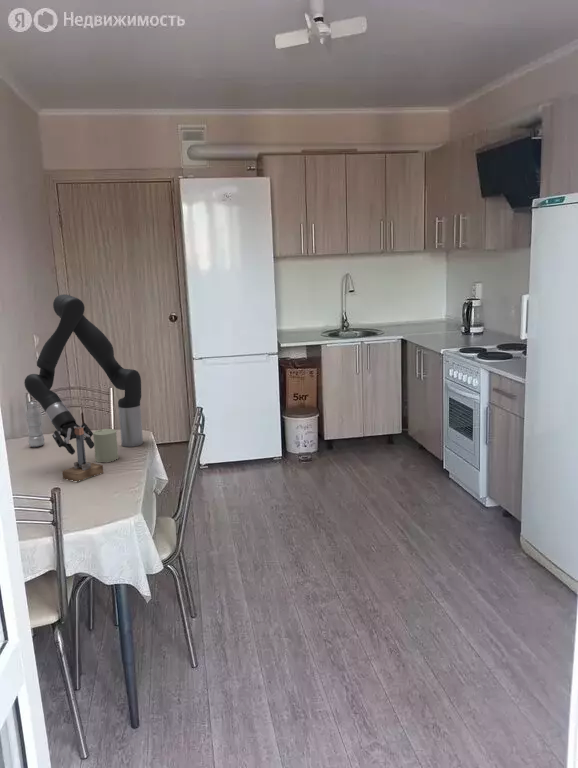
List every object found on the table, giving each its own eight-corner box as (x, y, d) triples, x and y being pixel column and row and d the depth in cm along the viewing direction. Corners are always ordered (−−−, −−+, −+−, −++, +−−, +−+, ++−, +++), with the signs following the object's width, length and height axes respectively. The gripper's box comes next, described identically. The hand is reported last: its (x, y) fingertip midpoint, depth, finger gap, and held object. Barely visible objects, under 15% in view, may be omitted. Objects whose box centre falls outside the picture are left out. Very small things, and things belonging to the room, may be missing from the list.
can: (107, 454, 259) (105, 426, 257) (123, 457, 254) (121, 429, 252) (90, 460, 251) (87, 432, 249) (106, 464, 247) (103, 434, 244)
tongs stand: (89, 469, 240) (88, 457, 239) (103, 472, 236) (102, 460, 235) (63, 478, 231) (61, 465, 230) (77, 482, 226) (75, 469, 225)
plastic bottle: (25, 448, 271) (20, 403, 268) (36, 443, 278) (31, 399, 274) (38, 449, 270) (33, 403, 266) (48, 444, 276) (43, 400, 272)
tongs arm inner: (82, 465, 234) (78, 426, 231) (87, 466, 233) (83, 427, 230) (80, 466, 234) (76, 427, 230) (85, 467, 232) (81, 428, 229)
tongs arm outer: (79, 466, 233) (76, 427, 230) (84, 467, 232) (81, 428, 229) (77, 467, 232) (74, 428, 230) (82, 468, 231) (79, 428, 228)
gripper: (47, 414, 227) (71, 449, 223) (80, 406, 238) (102, 439, 234) (40, 427, 231) (63, 461, 227) (72, 418, 242) (94, 451, 238)
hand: (83, 450), depth 231 cm, fingers open, 8 cm apart
